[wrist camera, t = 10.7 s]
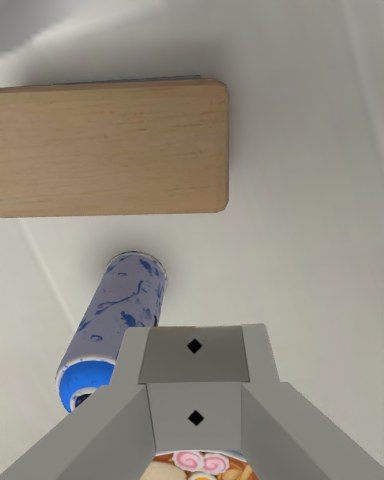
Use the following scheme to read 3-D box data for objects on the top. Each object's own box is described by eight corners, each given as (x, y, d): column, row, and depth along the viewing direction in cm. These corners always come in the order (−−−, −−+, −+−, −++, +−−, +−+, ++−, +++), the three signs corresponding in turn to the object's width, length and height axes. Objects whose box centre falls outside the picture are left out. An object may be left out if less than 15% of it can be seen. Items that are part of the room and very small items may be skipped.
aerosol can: (158, 312, 46) (128, 468, 28) (98, 296, 45) (28, 446, 27) (174, 261, 42) (153, 401, 24) (111, 243, 42) (40, 374, 23)
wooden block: (222, 78, 33) (14, 86, 34) (230, 79, 24) (-55, 91, 25) (222, 182, 37) (37, 187, 38) (229, 216, 28) (-14, 222, 29)
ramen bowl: (273, 396, 52) (285, 451, 44) (275, 490, 61) (285, 547, 54) (107, 406, 53) (92, 459, 46) (134, 495, 63) (125, 551, 56)
